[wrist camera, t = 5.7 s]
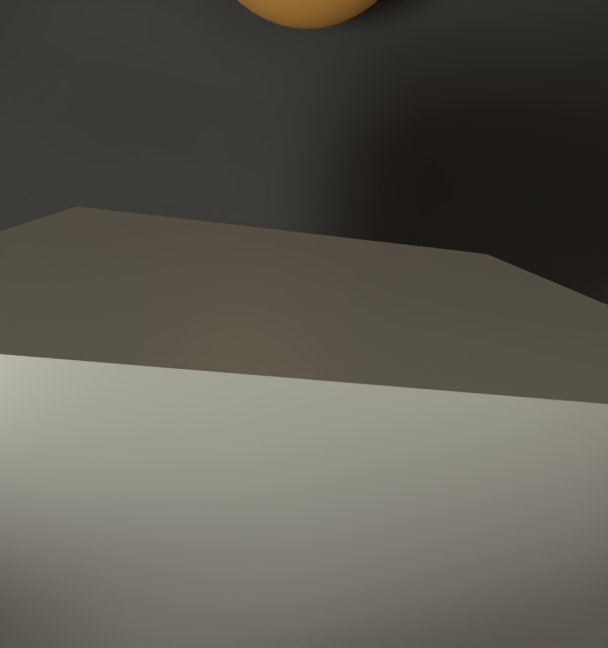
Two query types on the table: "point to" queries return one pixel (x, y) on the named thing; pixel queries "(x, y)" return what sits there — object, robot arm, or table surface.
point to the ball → (307, 11)
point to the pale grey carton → (294, 442)
